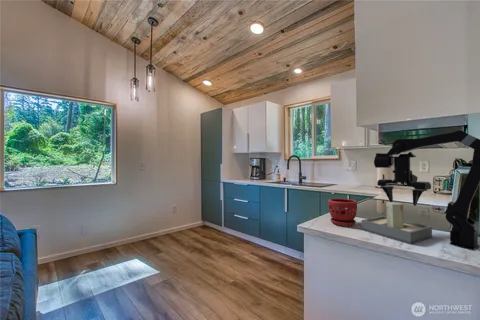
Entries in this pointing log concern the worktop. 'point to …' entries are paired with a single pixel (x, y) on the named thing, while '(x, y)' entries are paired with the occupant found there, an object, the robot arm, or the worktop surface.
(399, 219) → the skincare box
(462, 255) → the worktop surface
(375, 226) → the socket box
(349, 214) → the plant pot
